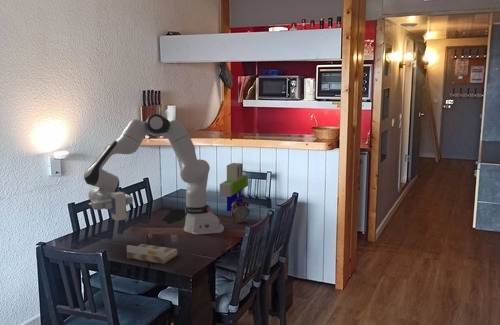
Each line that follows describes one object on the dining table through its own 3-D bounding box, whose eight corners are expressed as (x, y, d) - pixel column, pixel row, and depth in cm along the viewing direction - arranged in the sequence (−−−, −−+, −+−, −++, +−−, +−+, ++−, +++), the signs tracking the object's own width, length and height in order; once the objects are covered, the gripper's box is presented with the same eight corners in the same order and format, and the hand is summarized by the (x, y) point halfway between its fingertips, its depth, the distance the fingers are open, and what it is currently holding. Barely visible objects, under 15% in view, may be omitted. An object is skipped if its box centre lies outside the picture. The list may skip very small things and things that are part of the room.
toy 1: (189, 210, 307) (177, 223, 278) (189, 210, 307) (177, 224, 278) (170, 209, 308) (157, 222, 279) (170, 210, 309) (157, 223, 279)
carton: (121, 216, 238) (120, 191, 236) (125, 219, 234) (125, 193, 232) (111, 218, 235) (110, 193, 233) (115, 220, 231) (115, 194, 229)
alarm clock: (233, 225, 276) (233, 199, 273) (229, 222, 280) (229, 198, 277) (250, 222, 280) (250, 198, 278) (246, 220, 284) (246, 196, 282)
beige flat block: (177, 255, 227) (176, 243, 226) (163, 264, 216) (163, 251, 215) (141, 249, 234) (141, 238, 233) (126, 258, 223) (126, 246, 222)
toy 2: (230, 217, 291) (230, 169, 287) (220, 216, 294) (219, 168, 289) (248, 204, 323) (248, 160, 318) (238, 203, 325) (238, 160, 321)
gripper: (86, 197, 236) (98, 202, 225) (125, 191, 249) (137, 196, 239) (87, 209, 237) (99, 215, 226) (125, 203, 250) (137, 208, 240)
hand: (119, 205), depth 233 cm, fingers closed on carton, 5 cm apart
